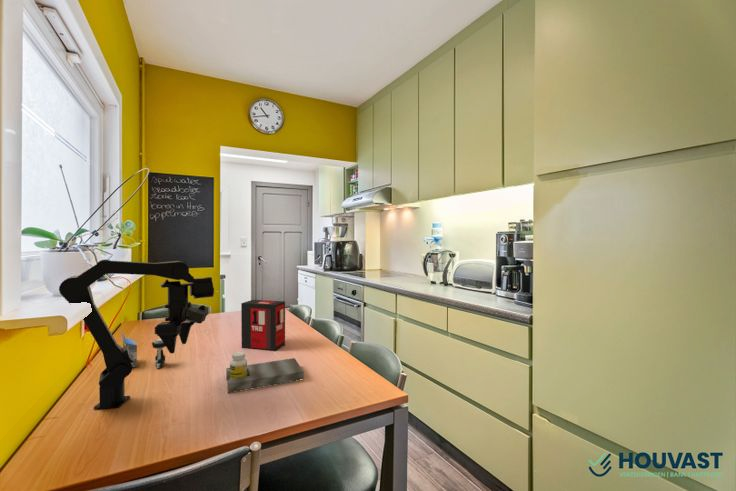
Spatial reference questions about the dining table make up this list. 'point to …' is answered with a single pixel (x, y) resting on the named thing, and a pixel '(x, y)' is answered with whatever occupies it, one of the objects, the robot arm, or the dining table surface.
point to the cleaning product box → (263, 325)
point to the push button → (159, 352)
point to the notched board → (266, 375)
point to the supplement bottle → (238, 365)
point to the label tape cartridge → (131, 349)
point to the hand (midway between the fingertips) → (178, 348)
